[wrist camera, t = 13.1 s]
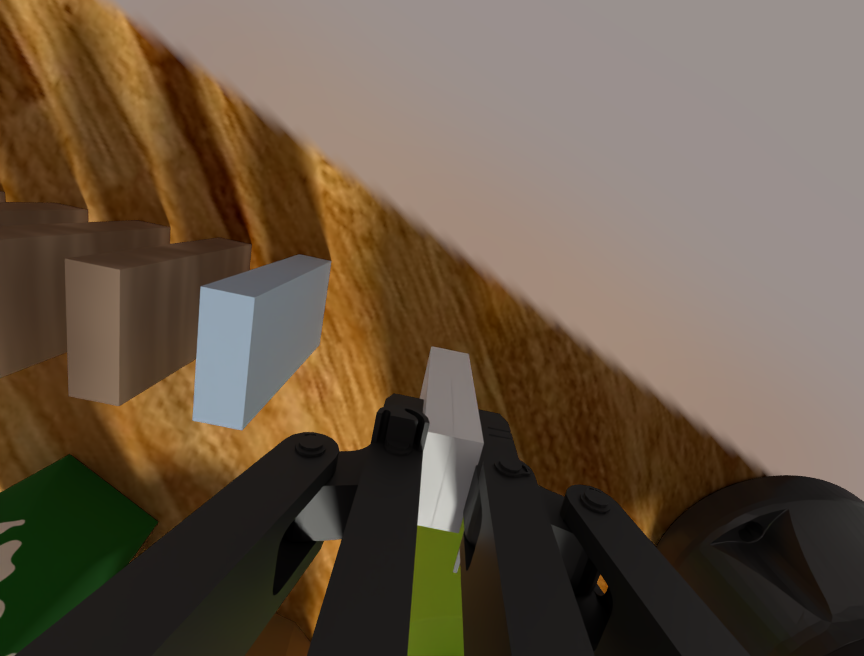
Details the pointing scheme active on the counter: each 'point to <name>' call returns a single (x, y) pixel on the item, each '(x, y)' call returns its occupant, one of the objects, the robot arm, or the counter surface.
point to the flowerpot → (280, 639)
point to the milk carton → (60, 546)
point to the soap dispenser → (436, 595)
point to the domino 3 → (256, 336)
